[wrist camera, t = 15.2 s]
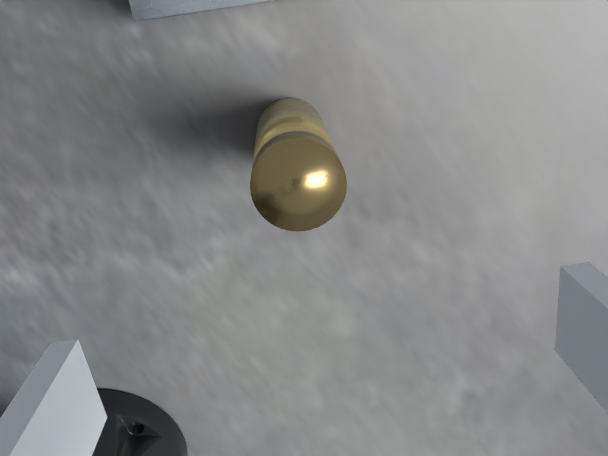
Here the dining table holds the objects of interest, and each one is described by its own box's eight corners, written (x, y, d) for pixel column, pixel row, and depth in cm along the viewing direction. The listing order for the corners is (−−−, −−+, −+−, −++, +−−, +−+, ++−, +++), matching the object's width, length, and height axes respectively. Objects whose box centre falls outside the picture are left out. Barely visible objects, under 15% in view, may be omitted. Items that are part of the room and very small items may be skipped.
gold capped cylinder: (263, 168, 40) (259, 237, 28) (251, 103, 38) (242, 147, 26) (327, 159, 40) (351, 223, 28) (319, 93, 38) (341, 132, 26)
